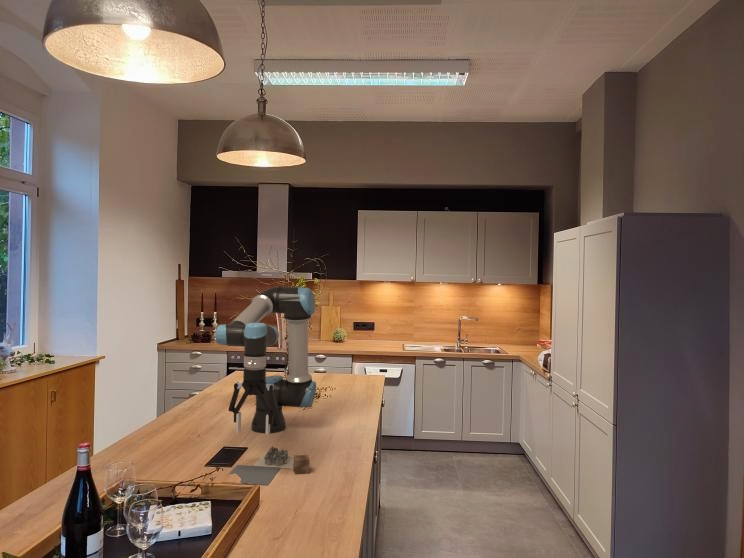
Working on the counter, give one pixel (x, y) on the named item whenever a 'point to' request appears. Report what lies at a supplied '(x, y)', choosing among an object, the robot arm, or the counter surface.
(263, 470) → the slate coaster
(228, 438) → the counter surface
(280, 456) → the egg carton
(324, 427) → the counter surface
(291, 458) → the tile
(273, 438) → the counter surface
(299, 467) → the walnut block
